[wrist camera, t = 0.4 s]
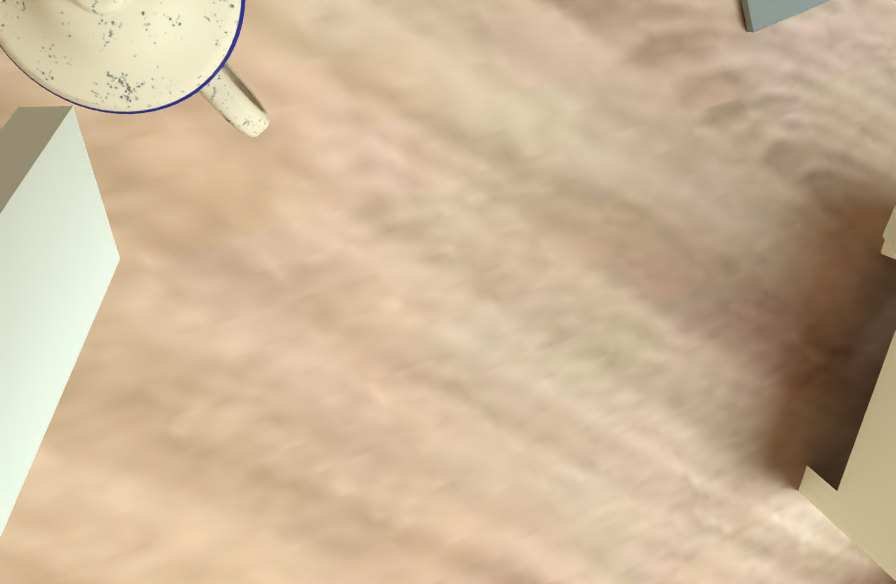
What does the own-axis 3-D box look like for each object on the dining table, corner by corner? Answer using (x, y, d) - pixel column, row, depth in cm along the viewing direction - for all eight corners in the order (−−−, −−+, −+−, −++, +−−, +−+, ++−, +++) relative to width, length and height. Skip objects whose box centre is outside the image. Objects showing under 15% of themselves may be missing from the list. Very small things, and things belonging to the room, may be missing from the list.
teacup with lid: (-10, -29, 35) (-137, -44, 24) (144, -173, 34) (85, -254, 23) (195, 176, 39) (165, 241, 29) (334, 52, 39) (357, 71, 28)
